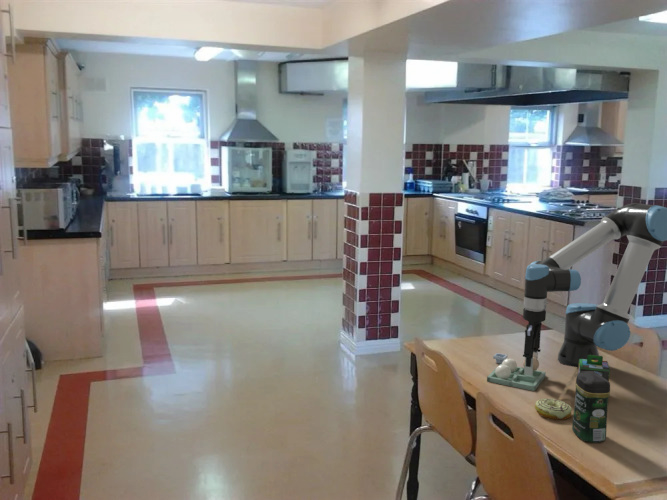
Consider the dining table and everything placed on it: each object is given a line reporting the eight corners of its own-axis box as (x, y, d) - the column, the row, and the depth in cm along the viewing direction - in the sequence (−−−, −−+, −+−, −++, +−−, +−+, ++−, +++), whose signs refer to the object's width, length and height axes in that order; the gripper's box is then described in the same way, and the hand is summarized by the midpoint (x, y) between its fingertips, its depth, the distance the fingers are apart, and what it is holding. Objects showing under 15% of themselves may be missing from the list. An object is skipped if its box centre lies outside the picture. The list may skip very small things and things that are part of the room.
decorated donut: (566, 425, 185) (567, 413, 184) (530, 416, 191) (531, 404, 190) (574, 413, 194) (575, 401, 193) (540, 404, 200) (541, 393, 199)
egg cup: (507, 363, 236) (507, 354, 236) (503, 366, 233) (504, 358, 232) (496, 361, 238) (496, 352, 238) (492, 364, 235) (493, 355, 234)
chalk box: (605, 393, 209) (609, 351, 206) (607, 404, 200) (611, 360, 198) (576, 389, 212) (579, 348, 209) (577, 400, 203) (580, 356, 201)
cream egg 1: (518, 372, 225) (519, 358, 224) (514, 376, 220) (515, 362, 219) (503, 369, 227) (504, 355, 226) (499, 373, 223) (500, 359, 222)
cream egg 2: (512, 378, 218) (513, 364, 217) (508, 383, 214) (509, 368, 213) (497, 375, 221) (498, 361, 220) (492, 380, 216) (493, 365, 215)
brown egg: (524, 367, 223) (525, 353, 222) (540, 370, 220) (541, 355, 219) (520, 371, 218) (521, 357, 218) (536, 374, 216) (537, 360, 215)
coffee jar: (567, 428, 182) (572, 368, 179) (593, 428, 183) (598, 368, 180) (582, 444, 173) (587, 381, 170) (610, 443, 173) (615, 380, 170)
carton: (545, 378, 221) (545, 372, 221) (534, 393, 208) (534, 386, 207) (500, 369, 230) (500, 363, 229) (486, 383, 216) (487, 377, 216)
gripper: (539, 316, 206) (534, 382, 210) (551, 304, 221) (547, 366, 225) (516, 313, 210) (512, 378, 214) (530, 301, 225) (526, 362, 229)
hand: (530, 371), depth 219 cm, fingers open, 5 cm apart
